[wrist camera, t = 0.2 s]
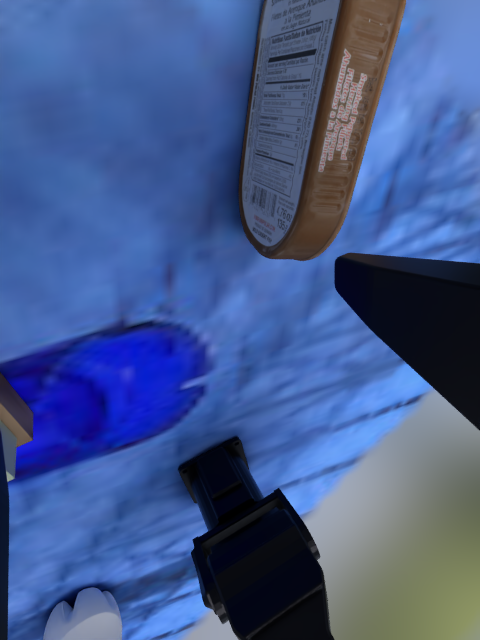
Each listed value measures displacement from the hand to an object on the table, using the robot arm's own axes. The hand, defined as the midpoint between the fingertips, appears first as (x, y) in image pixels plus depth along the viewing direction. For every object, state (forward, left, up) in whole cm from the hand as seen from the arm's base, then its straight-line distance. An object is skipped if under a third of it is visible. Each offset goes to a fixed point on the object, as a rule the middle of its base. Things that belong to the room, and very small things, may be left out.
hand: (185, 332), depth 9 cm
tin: (+2, -10, -15) cm, 18 cm away
